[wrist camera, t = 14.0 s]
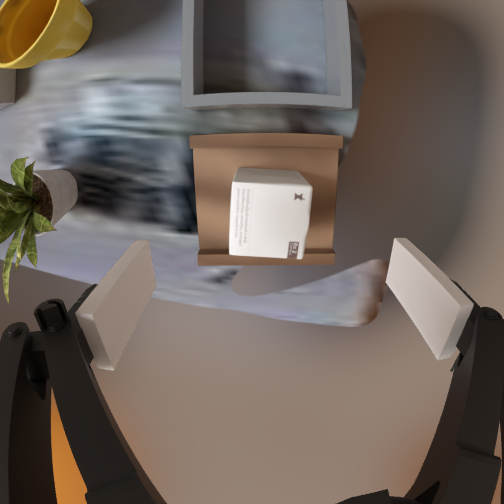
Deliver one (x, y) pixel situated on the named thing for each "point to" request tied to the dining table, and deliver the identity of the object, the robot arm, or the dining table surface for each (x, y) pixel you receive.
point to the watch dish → (7, 86)
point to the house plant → (32, 208)
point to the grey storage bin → (333, 101)
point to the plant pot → (41, 31)
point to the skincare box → (269, 213)
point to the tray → (264, 157)
